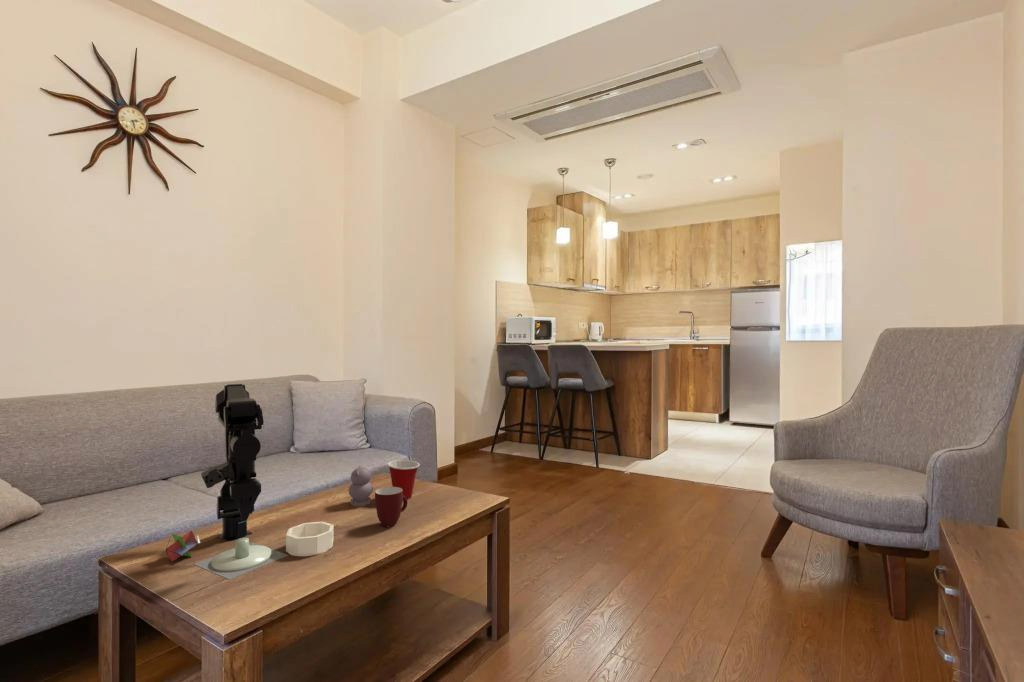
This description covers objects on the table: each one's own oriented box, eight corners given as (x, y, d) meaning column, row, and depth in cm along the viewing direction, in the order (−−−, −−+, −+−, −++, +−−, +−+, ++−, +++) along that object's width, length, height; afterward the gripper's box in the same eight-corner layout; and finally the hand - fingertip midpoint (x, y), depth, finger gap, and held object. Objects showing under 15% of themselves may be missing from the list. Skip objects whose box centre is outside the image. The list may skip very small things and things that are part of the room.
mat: (193, 566, 122) (193, 564, 122) (253, 544, 135) (253, 542, 135) (229, 581, 114) (229, 579, 114) (288, 557, 127) (288, 555, 127)
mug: (394, 515, 157) (394, 483, 157) (414, 520, 153) (414, 487, 152) (368, 526, 148) (368, 492, 148) (389, 531, 143) (389, 496, 143)
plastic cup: (415, 502, 169) (415, 467, 169) (383, 502, 169) (383, 466, 169) (422, 493, 180) (422, 459, 180) (392, 492, 180) (392, 458, 180)
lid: (200, 563, 122) (200, 543, 122) (251, 544, 133) (251, 526, 133) (231, 576, 115) (231, 555, 115) (282, 555, 126) (282, 536, 126)
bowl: (278, 551, 130) (278, 532, 130) (314, 537, 139) (314, 519, 139) (305, 561, 124) (305, 541, 124) (341, 545, 134) (341, 527, 134)
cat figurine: (371, 507, 165) (371, 470, 165) (346, 508, 164) (346, 471, 163) (374, 498, 173) (374, 463, 173) (350, 499, 172) (350, 464, 172)
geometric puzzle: (167, 561, 119) (188, 528, 123) (150, 556, 122) (171, 523, 127) (192, 570, 124) (211, 537, 129) (175, 564, 127) (194, 532, 132)
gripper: (201, 448, 127) (201, 510, 127) (205, 464, 112) (205, 534, 112) (251, 443, 134) (251, 502, 134) (261, 457, 118) (261, 524, 118)
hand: (242, 515), depth 124 cm, fingers open, 9 cm apart
